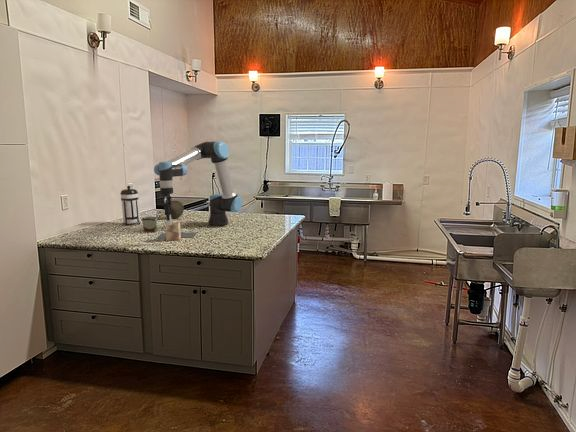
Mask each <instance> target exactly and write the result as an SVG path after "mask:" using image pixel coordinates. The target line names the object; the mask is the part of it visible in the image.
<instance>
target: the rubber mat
mask: <svg viewBox="0 0 576 432" xmlns="http://www.w3.org/2000/svg"><path fill="white" fill-rule="evenodd" d="M197 234H198V232H197V231H192V232H191V231H190V232H181V239H189V238H190V239H191V238H195V237H196V235H197ZM159 239H161V240H162V239H166V232H162V233H160V234H159V235H158V236H157V237H156V240H159Z"/></svg>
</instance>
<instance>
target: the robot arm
mask: <svg viewBox="0 0 576 432" xmlns="http://www.w3.org/2000/svg"><path fill="white" fill-rule="evenodd" d="M229 155H230V148H229V146H228V145H227V143H226V142H224V141H219V140H217V141H204V142H200V143H199V144H196V145H195V146H193V147H191V148H190V150H187V151H186V152H184V153H182V154H179V155H177V156H176V157H173V158H171V159H170V160H168V161H160V162H159V163H157V164H155V165H154V167H153V172H154V173H155V175H157V176H158V177H159V182H158V184H159V187H160V188H159V189H160V191H159V193H160V195H163V197H162V198H163V199H162V203H163V209H164V211H163V212H164V214H163V215H164V216H165V221H166V222H165V223H166V225H171V221H172V218H171V215H170V214H172V213H171V201H172V196H171V195H172V194H174V184H173V183H174V182H173V181H174V180H173V177H174V178H176V177H185V176H186V175H187V174H188V167H187V165H188V164H190V163H193V162H194V161H199V160H201V159H210V161H211V164H214V166H215V170H216V174H217V178H218V181H219V185H220V188H221V192H222V193H217V194H211V195H209V209H210V210H209V212H210V213H209V214H210V215H209V219H208V225H209V226H226V225H228V224H229V219H228V216H227V214H226V212H228V213H229V212H231V213H238V212H239V211H241V209H242V206H243V199H242V197H241V196H238V193H237V191H236V190H235V189H234V185H233V182H232V178H231V174H230V170H229V166H228V163H227V161H228V159H229V158H228V157H229Z"/></svg>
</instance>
